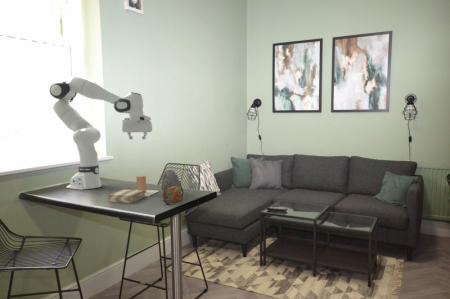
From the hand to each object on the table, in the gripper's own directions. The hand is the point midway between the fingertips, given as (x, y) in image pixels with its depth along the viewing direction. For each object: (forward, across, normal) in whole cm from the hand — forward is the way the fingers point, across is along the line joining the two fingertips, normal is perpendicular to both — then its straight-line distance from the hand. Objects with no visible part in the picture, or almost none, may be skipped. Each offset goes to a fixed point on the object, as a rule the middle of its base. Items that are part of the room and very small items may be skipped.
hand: (137, 139), depth 240 cm
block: (+31, +12, -18) cm, 37 cm away
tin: (+31, +40, -34) cm, 61 cm away
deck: (+31, +12, -34) cm, 48 cm away
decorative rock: (+31, +32, -18) cm, 48 cm away
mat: (+31, +12, -18) cm, 38 cm away
